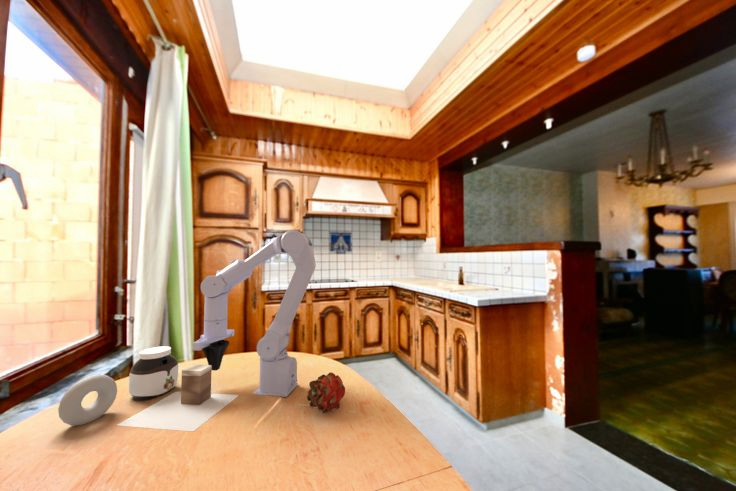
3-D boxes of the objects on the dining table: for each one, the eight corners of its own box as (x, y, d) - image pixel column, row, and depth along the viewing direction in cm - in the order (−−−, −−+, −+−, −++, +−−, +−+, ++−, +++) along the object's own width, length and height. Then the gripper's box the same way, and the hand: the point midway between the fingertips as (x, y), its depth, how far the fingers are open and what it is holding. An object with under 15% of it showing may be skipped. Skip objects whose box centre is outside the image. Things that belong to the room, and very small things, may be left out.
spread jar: (143, 406, 69) (145, 357, 70) (113, 399, 73) (115, 353, 74) (188, 385, 81) (190, 344, 82) (160, 380, 84) (161, 340, 85)
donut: (62, 437, 57) (65, 386, 58) (52, 434, 58) (55, 384, 59) (120, 412, 66) (121, 368, 67) (110, 410, 68) (112, 367, 68)
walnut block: (210, 397, 73) (211, 365, 73) (199, 405, 69) (200, 371, 69) (192, 396, 73) (193, 364, 74) (180, 403, 69) (181, 370, 70)
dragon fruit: (312, 429, 62) (331, 410, 73) (343, 407, 61) (357, 391, 73) (293, 392, 64) (315, 379, 76) (323, 371, 64) (340, 361, 75)
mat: (239, 397, 74) (239, 395, 74) (193, 433, 58) (193, 431, 58) (176, 393, 76) (176, 391, 76) (115, 427, 60) (116, 425, 60)
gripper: (219, 314, 87) (218, 359, 86) (182, 324, 72) (180, 379, 71) (241, 314, 86) (240, 360, 85) (207, 325, 71) (206, 380, 70)
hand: (214, 369), depth 78 cm, fingers closed
